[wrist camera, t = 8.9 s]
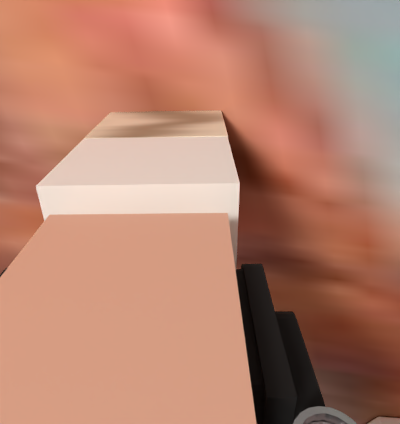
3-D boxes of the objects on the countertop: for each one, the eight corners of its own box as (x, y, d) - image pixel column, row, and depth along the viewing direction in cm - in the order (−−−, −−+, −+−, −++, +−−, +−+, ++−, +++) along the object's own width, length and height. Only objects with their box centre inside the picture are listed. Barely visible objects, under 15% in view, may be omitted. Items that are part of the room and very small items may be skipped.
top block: (227, 213, 10) (257, 429, 5) (224, 340, 12) (241, 580, 7) (49, 214, 10) (-122, 431, 5) (80, 341, 12) (-11, 580, 7)
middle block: (227, 136, 15) (239, 183, 10) (224, 255, 18) (233, 332, 13) (84, 138, 15) (35, 185, 10) (104, 257, 18) (72, 334, 13)
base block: (221, 110, 19) (227, 135, 15) (219, 208, 22) (225, 254, 18) (110, 112, 19) (84, 137, 15) (123, 210, 22) (104, 256, 18)
